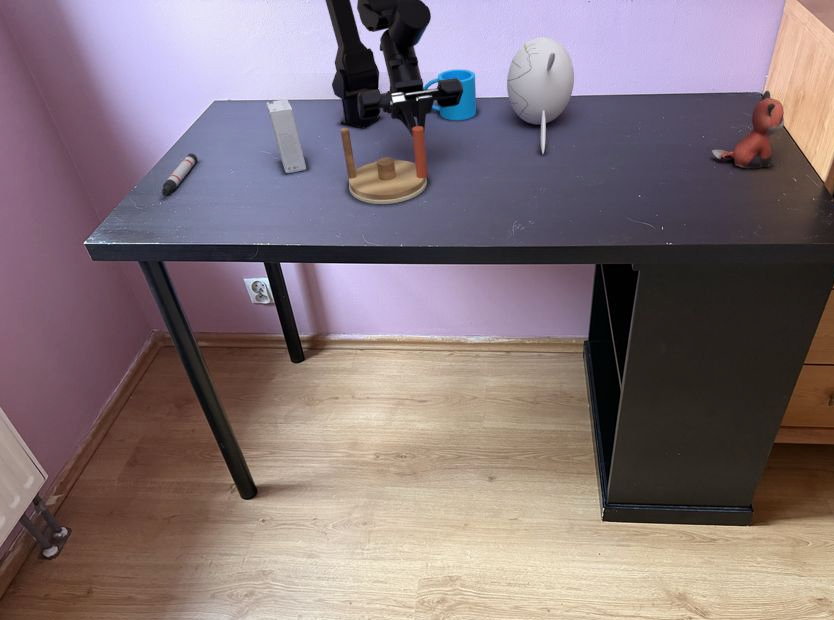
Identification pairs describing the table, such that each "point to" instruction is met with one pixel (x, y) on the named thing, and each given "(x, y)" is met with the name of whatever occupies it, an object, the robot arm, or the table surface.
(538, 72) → the cracked white egg
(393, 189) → the wooden peg board
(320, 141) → the table surface
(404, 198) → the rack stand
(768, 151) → the stuffed fox
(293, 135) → the cosmetic box
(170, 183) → the marker
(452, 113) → the mug
